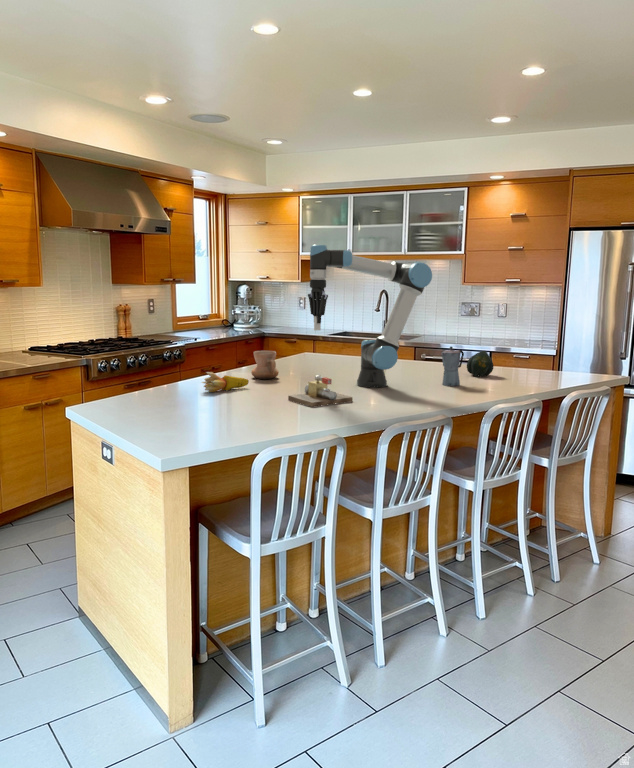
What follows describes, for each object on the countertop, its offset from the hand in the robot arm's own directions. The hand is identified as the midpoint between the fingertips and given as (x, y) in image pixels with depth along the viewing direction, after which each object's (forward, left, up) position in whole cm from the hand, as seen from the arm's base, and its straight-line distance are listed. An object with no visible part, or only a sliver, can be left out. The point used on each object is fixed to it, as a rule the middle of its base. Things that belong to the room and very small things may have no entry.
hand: (317, 330), depth 290 cm
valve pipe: (+11, +18, -28) cm, 35 cm away
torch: (+35, -26, -30) cm, 52 cm away
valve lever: (+12, +21, -21) cm, 31 cm away
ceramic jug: (0, -46, -30) cm, 55 cm away
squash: (-108, +9, -30) cm, 112 cm away
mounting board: (+11, +18, -29) cm, 36 cm away
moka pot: (-71, +21, -30) cm, 80 cm away
